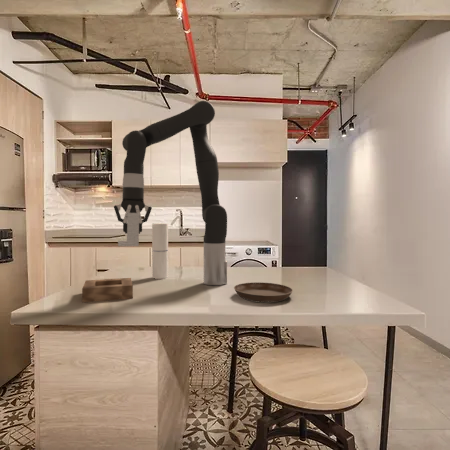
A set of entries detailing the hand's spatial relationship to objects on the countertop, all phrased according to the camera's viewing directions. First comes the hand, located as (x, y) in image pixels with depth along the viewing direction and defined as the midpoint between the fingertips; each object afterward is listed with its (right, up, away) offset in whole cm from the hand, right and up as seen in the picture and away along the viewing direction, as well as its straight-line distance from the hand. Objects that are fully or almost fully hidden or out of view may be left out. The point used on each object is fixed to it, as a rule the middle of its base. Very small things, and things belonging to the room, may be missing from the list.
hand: (132, 233), depth 117 cm
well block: (-8, -22, -3) cm, 24 cm away
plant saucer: (+48, -23, -4) cm, 53 cm away
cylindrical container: (+4, -21, +29) cm, 37 cm away
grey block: (-1, -4, 0) cm, 5 cm away
